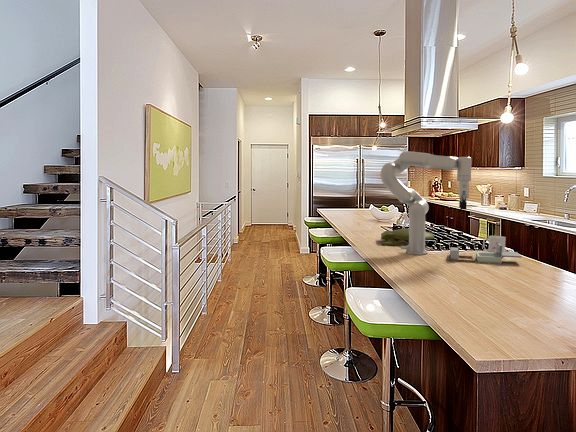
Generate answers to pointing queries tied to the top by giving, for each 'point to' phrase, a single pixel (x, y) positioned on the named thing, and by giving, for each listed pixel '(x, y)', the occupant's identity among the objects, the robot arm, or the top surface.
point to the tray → (462, 259)
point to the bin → (488, 258)
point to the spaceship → (400, 237)
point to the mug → (495, 243)
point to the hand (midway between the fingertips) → (462, 208)
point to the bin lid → (505, 254)
